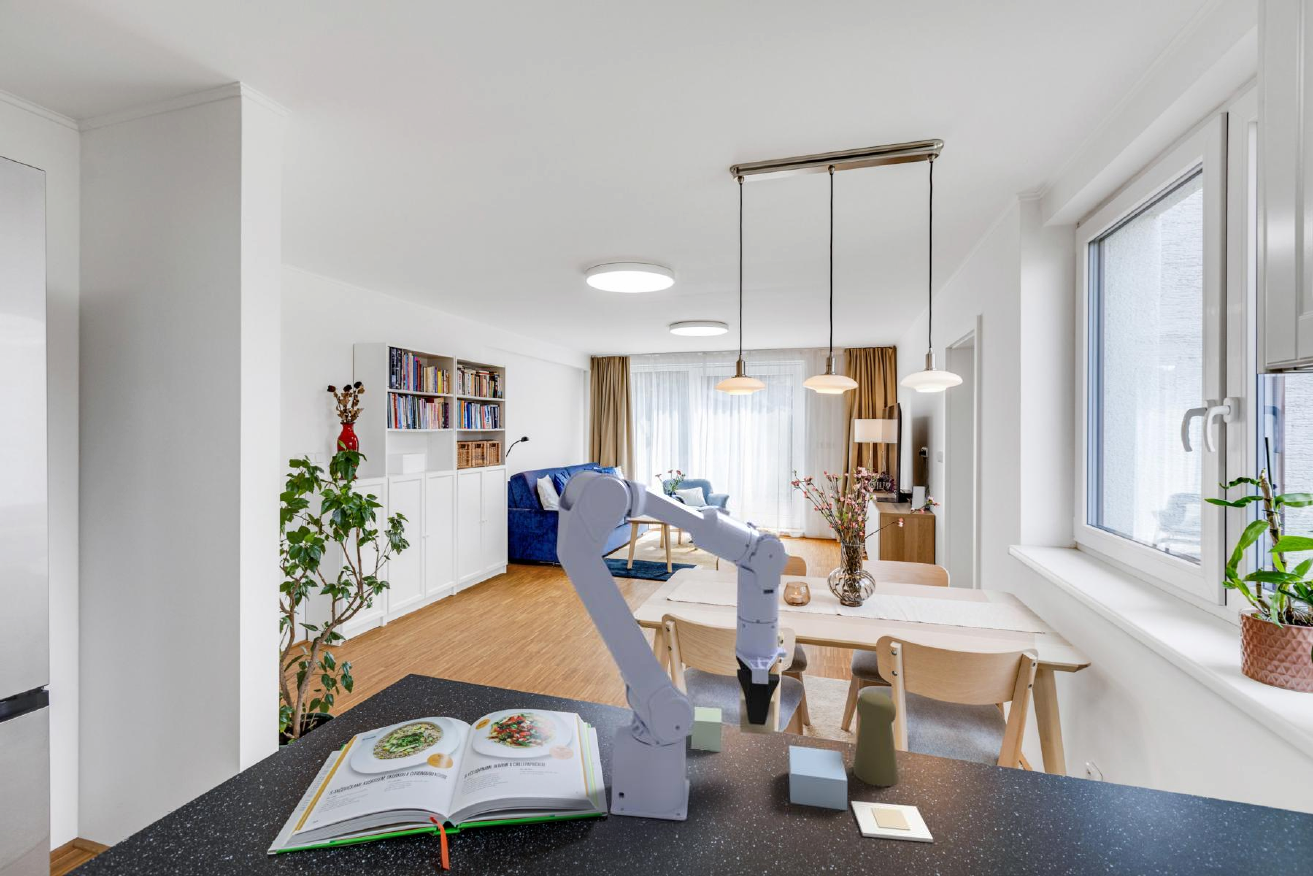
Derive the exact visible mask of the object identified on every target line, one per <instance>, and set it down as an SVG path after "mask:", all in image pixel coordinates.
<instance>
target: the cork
mask: <svg viewBox="0 0 1313 876" xmlns="http://www.w3.org/2000/svg"><path fill="white" fill-rule="evenodd" d="M896 707H897V706H896V704H895V702H894V701H893V699H892V698H890V697H889V696H888V695H885V694H883V693H880V692H875V691H874V692H873V691H868V692H864V693H862V694H860V695H859V696H858V699H857V701H856V709H857V713H858V715H859V717H860V721H859V729H858V735H857V742H856V747H855V748H856V749H855V754H854V755H855V756H854V760H853V768H852V769H853V770H852V772H853V774H854V776H856V777H857V778H858V779H859V780H860V781H863V782H864V783H865V782H866V784H868V785H871V784H872V785H871V786H874V785H877V786H876V787H879V786H882V787H881V788H885V786H889V787H892V786H895V785H897V784H898V782H899V781H900V780H899V771H898V764H897V755H896V747H895V740H894V732H893V725H892V723H893V722H894V721H895V720H896V718H897V717H896V716H897V708H896ZM894 784H895V785H894ZM883 786H884V787H883Z"/></svg>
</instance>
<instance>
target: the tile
mask: <svg viewBox="0 0 1313 876" xmlns="http://www.w3.org/2000/svg"><path fill="white" fill-rule="evenodd" d="M850 804H851V807H852V809H853V814H854V816H855V818H856V821H857V824H858V827H859V829H860V833H861V835H862V836H863V837H871V838H881V839H882V838H883V839H892V840H902V841H903V840H904V841H914V842H915V841H916V842H924V843H925V842H926V843H934V837H933V836H932V834H931V832H930V830H929V829H928V826H927V825H926V824H927V823H925V821H924V819H923V816H922V815H921V814H920V811H919V809H918V807H917V806H915V805H914V806H912V805H903V804H901V805H900V804H889V803H880V802H879V803H877V802H867V801H856V800H854V801H853V800H851V802H850Z"/></svg>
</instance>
